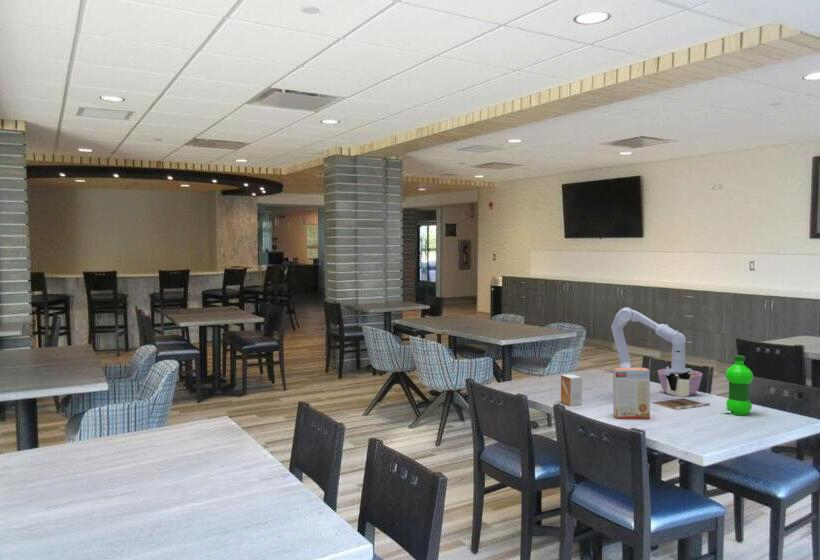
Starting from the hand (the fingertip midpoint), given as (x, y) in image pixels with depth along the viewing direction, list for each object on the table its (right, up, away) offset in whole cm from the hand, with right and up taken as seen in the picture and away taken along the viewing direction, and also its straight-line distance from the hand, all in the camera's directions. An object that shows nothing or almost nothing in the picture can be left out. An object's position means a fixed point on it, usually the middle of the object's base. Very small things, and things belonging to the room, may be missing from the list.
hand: (677, 389), depth 280 cm
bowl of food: (+10, -7, +21) cm, 24 cm away
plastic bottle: (+21, -8, -12) cm, 26 cm away
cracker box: (-27, -9, -17) cm, 33 cm away
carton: (0, -2, 0) cm, 2 cm away
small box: (-46, -8, +7) cm, 48 cm away
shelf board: (0, -8, -1) cm, 8 cm away
